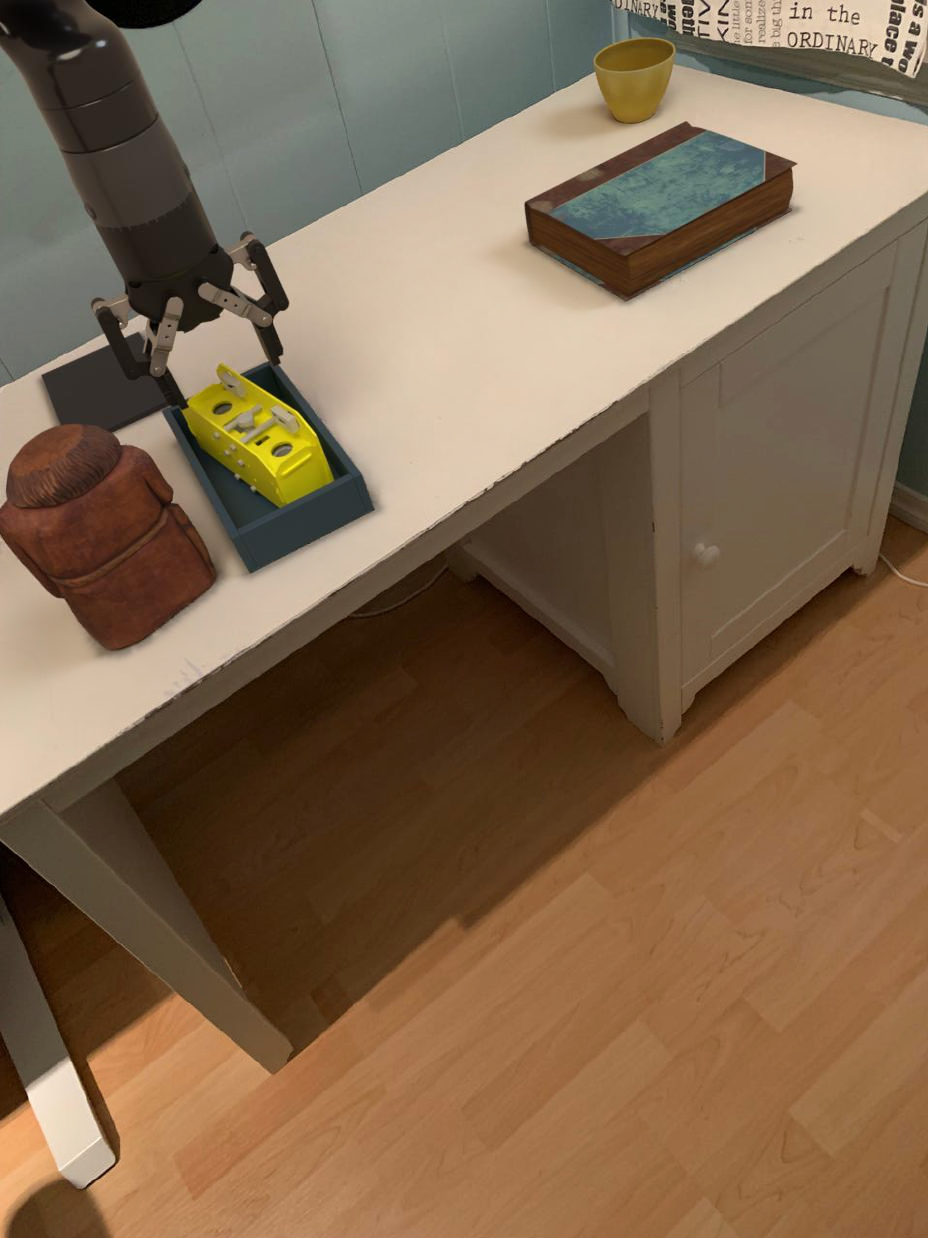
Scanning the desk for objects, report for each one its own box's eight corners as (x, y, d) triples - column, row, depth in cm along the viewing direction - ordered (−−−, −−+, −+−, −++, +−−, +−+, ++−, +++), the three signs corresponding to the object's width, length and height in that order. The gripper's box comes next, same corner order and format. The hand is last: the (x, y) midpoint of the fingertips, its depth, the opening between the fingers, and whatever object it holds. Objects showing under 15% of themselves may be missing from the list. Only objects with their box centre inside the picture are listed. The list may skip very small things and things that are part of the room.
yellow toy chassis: (343, 490, 79) (315, 417, 72) (294, 527, 77) (260, 455, 70) (248, 423, 87) (215, 353, 81) (201, 455, 86) (164, 385, 79)
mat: (71, 450, 90) (68, 446, 90) (43, 378, 100) (40, 374, 100) (178, 401, 93) (176, 396, 92) (140, 335, 102) (138, 331, 102)
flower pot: (684, 120, 112) (685, 58, 106) (606, 139, 112) (603, 78, 107) (662, 90, 118) (662, 30, 112) (589, 108, 118) (585, 49, 113)
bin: (250, 573, 75) (230, 539, 71) (179, 444, 88) (160, 410, 84) (374, 509, 77) (361, 473, 73) (288, 392, 90) (273, 357, 87)
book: (683, 163, 105) (684, 119, 101) (794, 210, 94) (800, 163, 90) (528, 243, 100) (523, 200, 96) (627, 302, 89) (626, 256, 85)
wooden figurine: (191, 547, 78) (90, 381, 64) (230, 580, 74) (131, 412, 61) (78, 630, 74) (-57, 472, 60) (113, 669, 71) (-21, 511, 57)
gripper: (215, 140, 65) (288, 328, 78) (34, 216, 63) (139, 397, 75) (248, 172, 61) (320, 367, 73) (54, 255, 58) (163, 442, 71)
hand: (228, 382), depth 74 cm, fingers open, 8 cm apart
